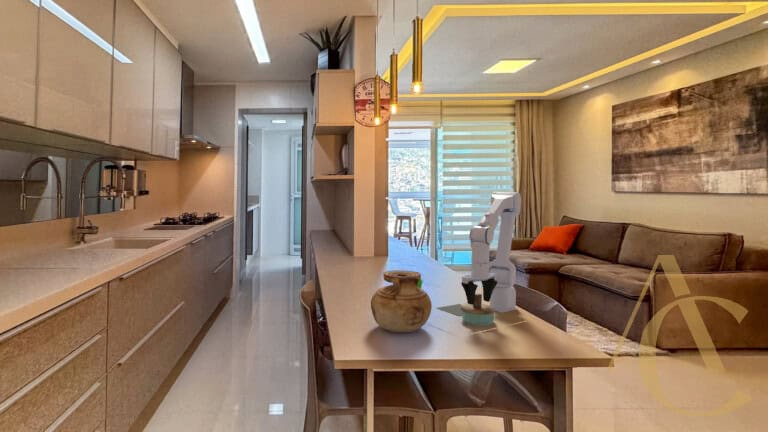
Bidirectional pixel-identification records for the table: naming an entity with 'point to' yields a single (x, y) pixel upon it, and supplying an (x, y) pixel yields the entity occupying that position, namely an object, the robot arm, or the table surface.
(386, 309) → the clay pot
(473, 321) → the bowl
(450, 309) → the mat
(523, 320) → the table surface
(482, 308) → the lid
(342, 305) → the table surface
